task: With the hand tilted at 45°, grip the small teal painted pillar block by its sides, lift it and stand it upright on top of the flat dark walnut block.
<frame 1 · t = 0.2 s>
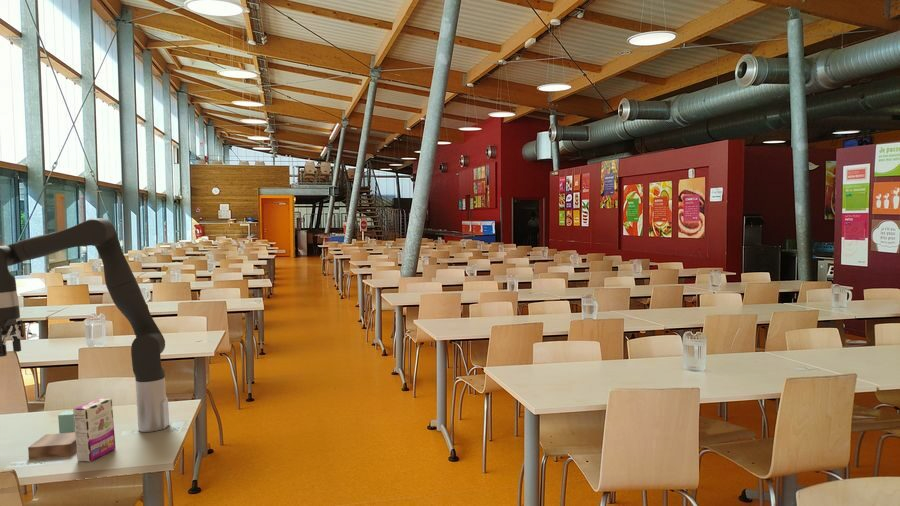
hand: (10, 353, 221), 29 cm above the table, tool pointing down, fingers open, 8 cm apart
candy bar box: (96, 456, 204), on the table
teal pillar block: (69, 436, 223), on the table
walnut block: (58, 451, 209), on the table
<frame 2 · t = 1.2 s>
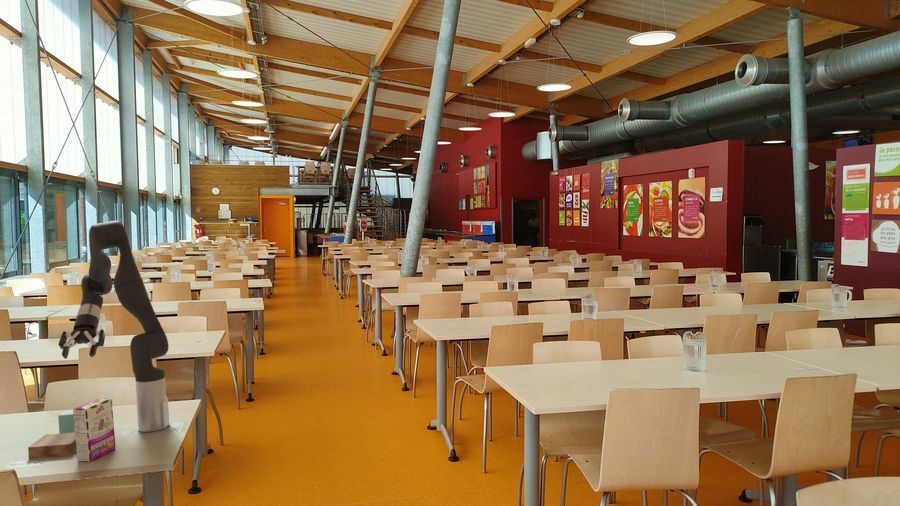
hand: (78, 356, 232), 25 cm above the table, tool tilted 45°, fingers open, 8 cm apart
nothing on the table moved.
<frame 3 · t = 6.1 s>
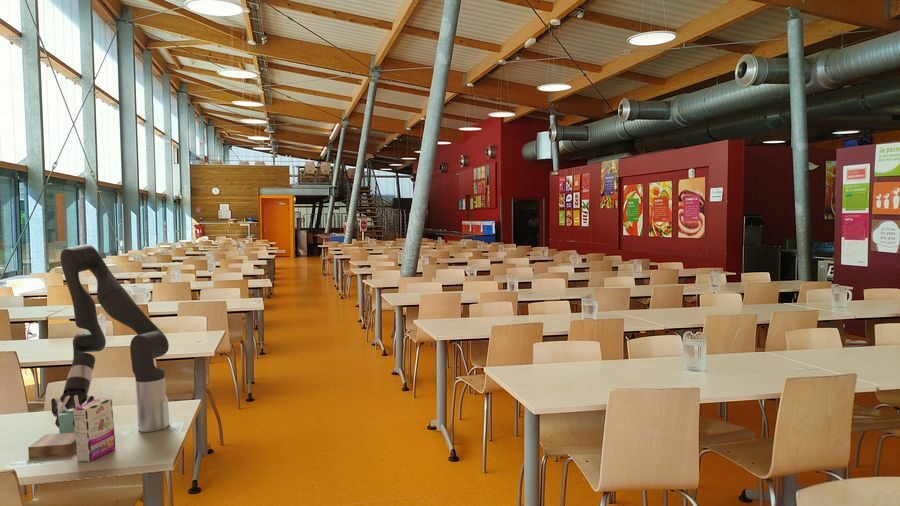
hand: (66, 425, 221), 4 cm above the table, tool tilted 45°, fingers closed on teal pillar block, 4 cm apart
teal pillar block: (69, 436, 223), on the table, touching gripper
everything else where it was.
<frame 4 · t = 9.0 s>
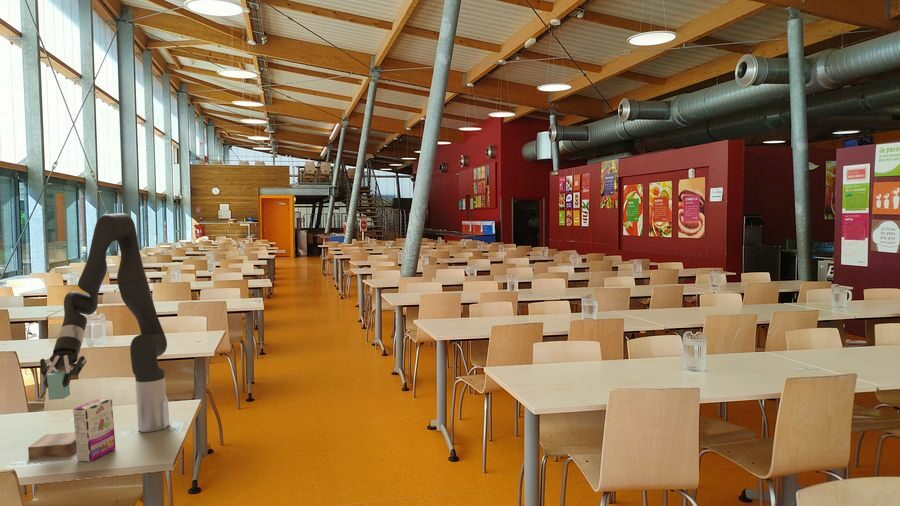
hand: (55, 386, 211), 20 cm above the table, tool tilted 45°, fingers closed on teal pillar block, 4 cm apart
teal pillar block: (59, 397, 213), point 16 cm above the table, touching gripper
everything else where it was.
when the fingers open (10 cm above the table, at t = 12.3 s): teal pillar block drops 2 cm, resting on walnut block.
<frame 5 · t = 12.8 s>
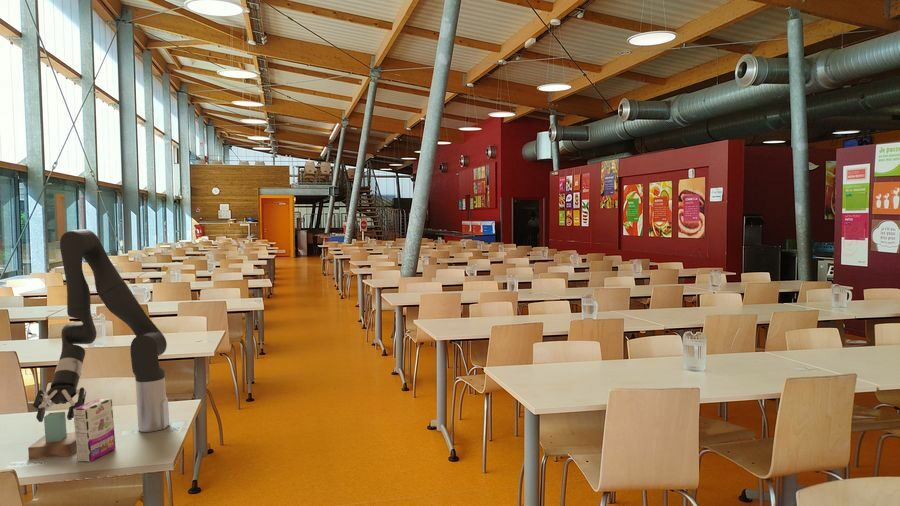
hand: (54, 419, 207), 10 cm above the table, tool tilted 45°, fingers open, 8 cm apart
teal pillar block: (56, 439, 209), point 4 cm above the table, touching walnut block
walnut block: (58, 451, 209), on the table, touching teal pillar block
everything else where it was.
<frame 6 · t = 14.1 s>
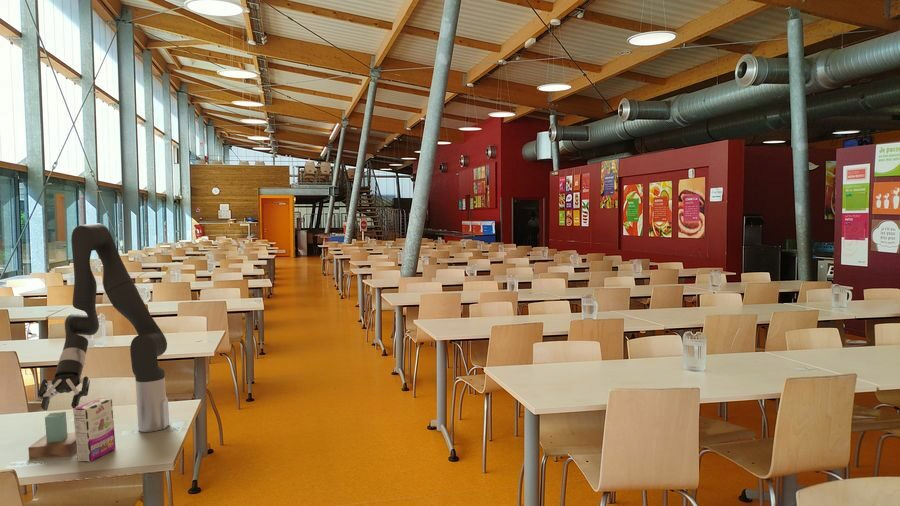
hand: (59, 408, 210), 13 cm above the table, tool tilted 45°, fingers open, 8 cm apart
teal pillar block: (57, 439, 209), point 4 cm above the table
walnut block: (58, 451, 209), on the table
everything else where it was.
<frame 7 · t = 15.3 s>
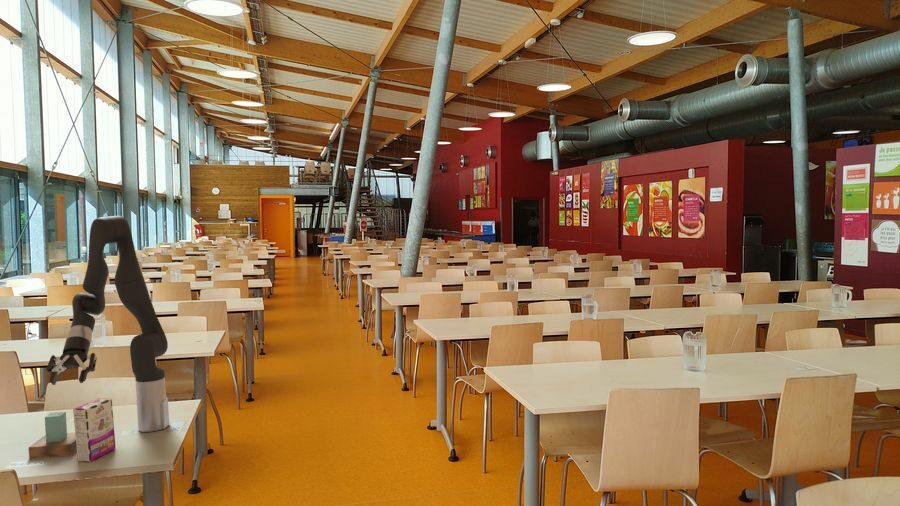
hand: (67, 382, 217), 19 cm above the table, tool tilted 45°, fingers open, 8 cm apart
nothing on the table moved.
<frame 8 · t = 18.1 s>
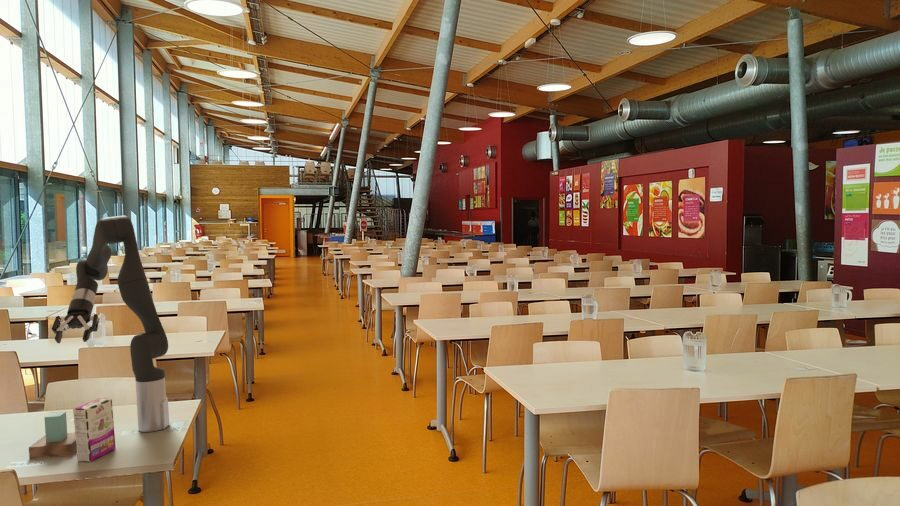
hand: (71, 341, 229), 31 cm above the table, tool tilted 45°, fingers open, 8 cm apart
teal pillar block: (56, 439, 209), point 4 cm above the table, touching walnut block
walnut block: (59, 451, 209), on the table, touching teal pillar block
everything else where it was.
at the end: teal pillar block 0.2 cm off-centre on the walnut block, point 4.1 cm above the walnut block's base; teal pillar block tilted 1°; the gripper is holding nothing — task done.
